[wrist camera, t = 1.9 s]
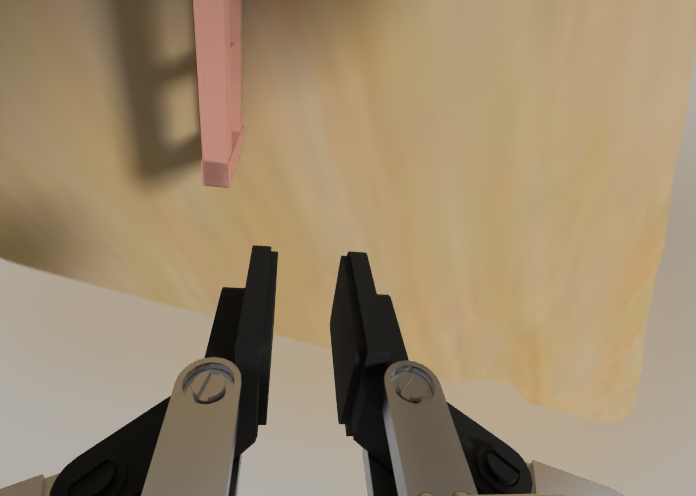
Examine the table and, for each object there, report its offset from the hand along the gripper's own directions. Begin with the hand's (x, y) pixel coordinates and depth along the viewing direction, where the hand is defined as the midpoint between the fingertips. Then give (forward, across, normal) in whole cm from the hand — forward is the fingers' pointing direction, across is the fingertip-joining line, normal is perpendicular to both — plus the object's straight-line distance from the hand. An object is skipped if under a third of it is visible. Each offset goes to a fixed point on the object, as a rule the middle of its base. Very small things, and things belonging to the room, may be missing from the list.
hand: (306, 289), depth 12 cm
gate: (+20, +5, -4) cm, 21 cm away
